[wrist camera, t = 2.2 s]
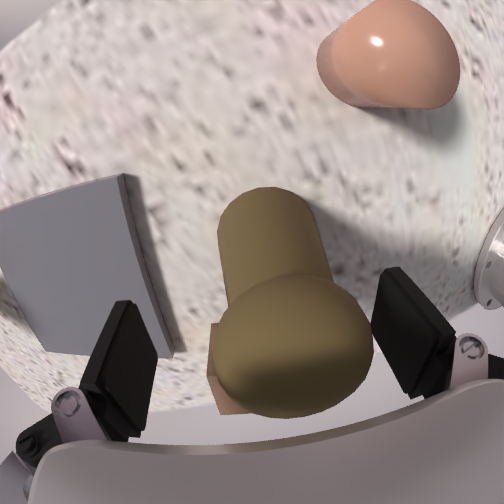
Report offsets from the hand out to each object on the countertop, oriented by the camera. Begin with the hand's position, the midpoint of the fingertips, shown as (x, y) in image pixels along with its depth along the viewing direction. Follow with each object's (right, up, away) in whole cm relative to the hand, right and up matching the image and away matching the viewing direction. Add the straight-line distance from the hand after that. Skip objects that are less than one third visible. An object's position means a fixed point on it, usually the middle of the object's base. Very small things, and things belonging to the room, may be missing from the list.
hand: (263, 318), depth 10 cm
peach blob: (+6, +13, +2) cm, 14 cm away
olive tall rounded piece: (+1, +4, +7) cm, 8 cm away
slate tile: (-14, 0, +8) cm, 16 cm away
